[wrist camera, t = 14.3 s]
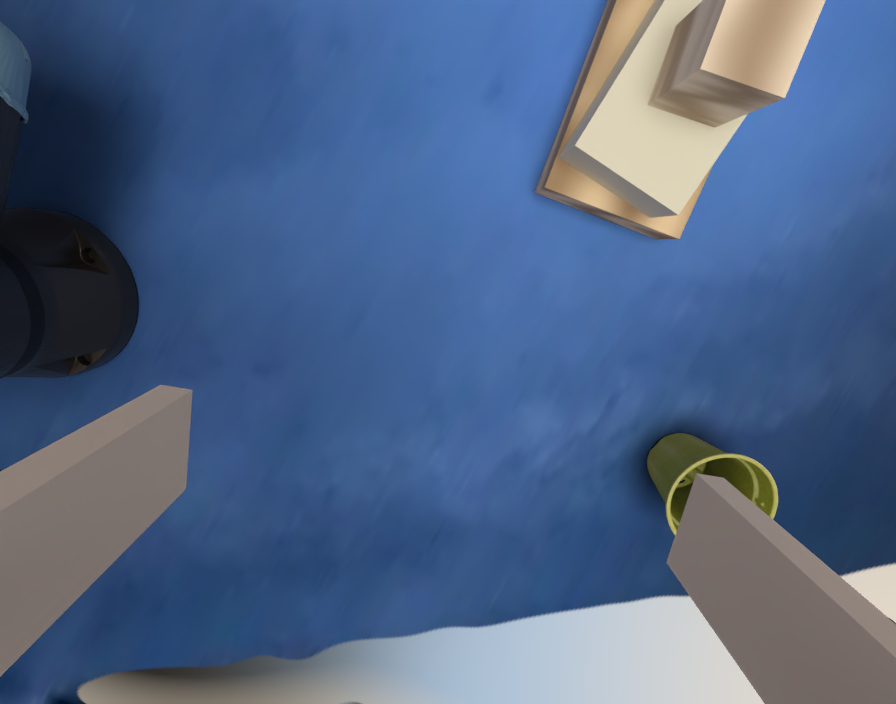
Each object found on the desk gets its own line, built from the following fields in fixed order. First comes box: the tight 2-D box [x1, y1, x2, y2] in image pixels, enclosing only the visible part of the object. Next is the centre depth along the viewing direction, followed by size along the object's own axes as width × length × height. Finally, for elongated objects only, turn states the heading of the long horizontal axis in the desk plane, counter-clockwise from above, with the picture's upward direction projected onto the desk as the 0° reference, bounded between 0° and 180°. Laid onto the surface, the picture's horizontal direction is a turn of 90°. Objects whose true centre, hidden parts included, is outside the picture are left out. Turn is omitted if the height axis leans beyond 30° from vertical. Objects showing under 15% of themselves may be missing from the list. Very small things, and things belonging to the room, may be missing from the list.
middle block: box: [559, 0, 747, 218], centre depth 35 cm, size 9×15×5 cm, turn 149°
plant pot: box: [647, 433, 778, 536], centre depth 45 cm, size 9×9×9 cm
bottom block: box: [535, 0, 713, 239], centre depth 40 cm, size 12×18×5 cm, turn 160°
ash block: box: [648, 0, 825, 127], centre depth 29 cm, size 5×5×7 cm
